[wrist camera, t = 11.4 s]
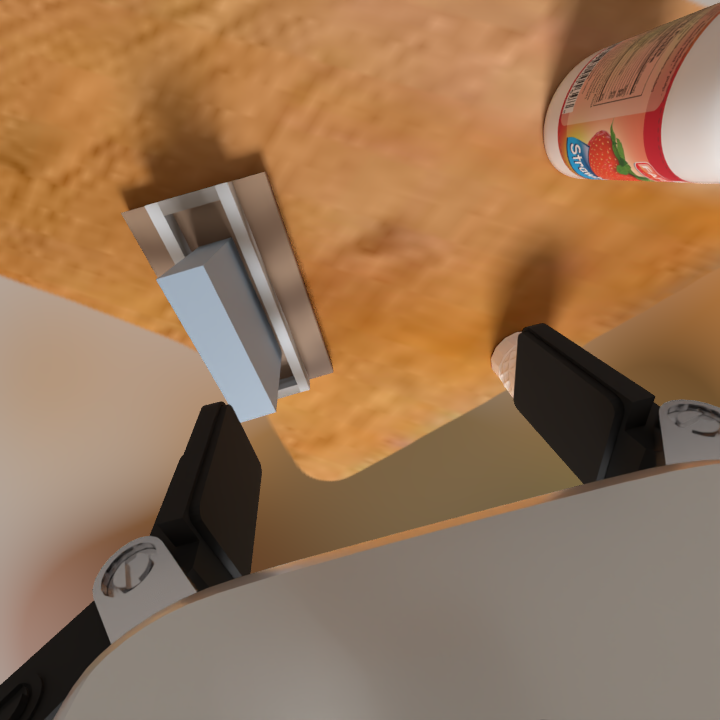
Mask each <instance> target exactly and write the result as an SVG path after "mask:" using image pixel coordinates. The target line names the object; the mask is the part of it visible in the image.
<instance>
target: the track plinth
mask: <svg viewBox="0 0 720 720" xmlns="http://www.w3.org/2000/svg"><path fill="white" fill-rule="evenodd" d="M121 214H122V216H123V217H124V219H125V221H126V223H127V224H128V226H129V228H130V230H131V231H132V233H133V235H134V237H135V238H136V240H137V242H138V244H139V246H140V247H141V249H142V251H143V253H144V254H145V256H146V258H147V260H148V261H149V263H150V265H151V267H152V268H153V270H154V272H155V274H156V275H157V277H158V278H159V277H160V276H161V275H163V274H164V273H165V272H167V271H168V270H169V269H170V268H172V267H173V266H174V265H176V264H177V263H178V262H180V261H181V260H182V259H184V258H185V257H186V256H187V255H189V254H190V253H191V252H193V251H194V250H195V249H197V248H198V247H200V246H204V245H207V244H210V243H214V242H217V241H220V240H224V239H227V238H230V237H232V239H233V241H234V243H235V246H236V248H237V250H238V252H239V255H240V257H241V259H242V262H243V264H244V266H245V269H246V271H247V273H248V276H249V278H250V280H251V282H252V285H253V287H254V289H255V292H256V294H257V296H258V299H259V301H260V303H261V305H262V308H263V310H264V312H265V315H266V317H267V319H268V322H269V324H270V326H271V329H272V331H273V333H274V335H275V338H276V340H277V342H278V345H279V347H280V349H281V352H282V359H281V368H280V378H279V388H278V397H277V399H279V398H282V397H286V396H289V395H293V394H296V393H300V392H303V391H306V390H310V381H309V379H312V378H316V377H319V376H323V375H326V374H329V373H333V367H332V363H331V360H330V357H329V355H328V352H327V349H326V346H325V343H324V340H323V337H322V334H321V331H320V328H319V325H318V322H317V319H316V316H315V313H314V311H313V308H312V305H311V302H310V299H309V296H308V293H307V290H306V287H305V284H304V281H303V278H302V275H301V272H300V270H299V267H298V264H297V261H296V258H295V255H294V252H293V249H292V246H291V243H290V240H289V237H288V234H287V231H286V229H285V226H284V223H283V220H282V217H281V214H280V211H279V208H278V205H277V202H276V199H275V196H274V193H273V190H272V187H271V185H270V182H269V179H268V176H267V173H266V172H262V173H259V174H255V175H252V176H248V177H245V178H241V179H238V180H234V181H230V182H226V183H222V184H219V185H215V186H212V187H208V188H205V189H201V190H198V191H194V192H191V193H187V194H184V195H180V196H177V197H173V198H170V199H166V200H163V201H160V202H156V203H153V204H149V205H146V206H144V207H140V208H137V209H133V210H130V211H126V212H123V213H121Z"/></svg>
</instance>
